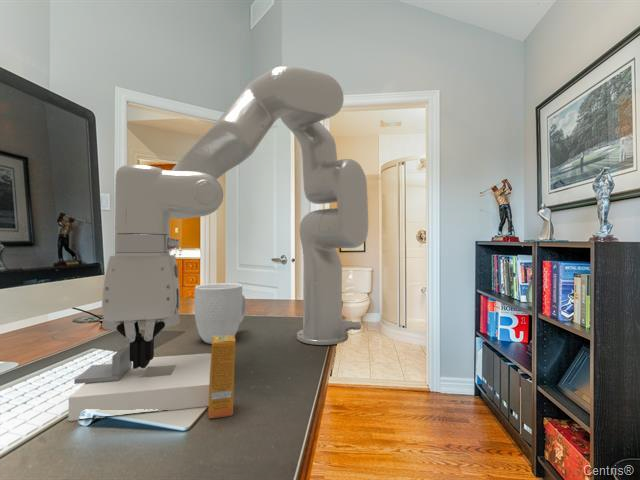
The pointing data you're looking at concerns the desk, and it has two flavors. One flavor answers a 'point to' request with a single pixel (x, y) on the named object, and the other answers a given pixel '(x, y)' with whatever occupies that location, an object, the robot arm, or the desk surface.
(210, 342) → the mug
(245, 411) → the desk surface
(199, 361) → the socket block
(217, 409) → the supplement box
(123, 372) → the grey l-shaped bracket
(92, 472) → the desk surface
